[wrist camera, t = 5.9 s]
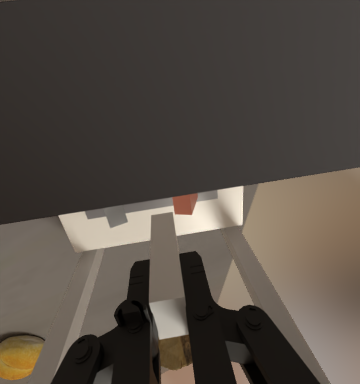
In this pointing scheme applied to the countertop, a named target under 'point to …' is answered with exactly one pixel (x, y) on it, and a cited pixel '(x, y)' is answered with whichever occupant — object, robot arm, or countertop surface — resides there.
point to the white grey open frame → (141, 231)
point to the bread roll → (19, 356)
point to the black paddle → (115, 215)
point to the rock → (175, 352)
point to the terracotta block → (184, 204)
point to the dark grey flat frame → (171, 98)
